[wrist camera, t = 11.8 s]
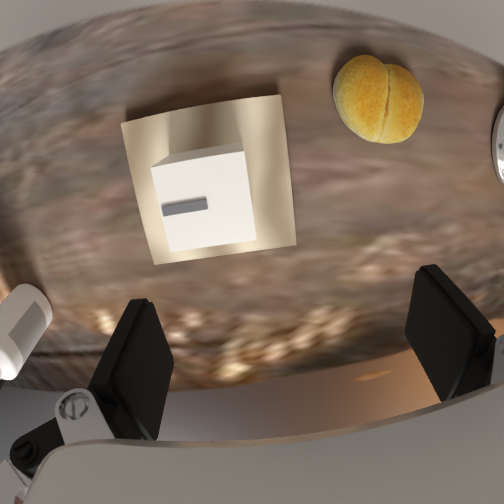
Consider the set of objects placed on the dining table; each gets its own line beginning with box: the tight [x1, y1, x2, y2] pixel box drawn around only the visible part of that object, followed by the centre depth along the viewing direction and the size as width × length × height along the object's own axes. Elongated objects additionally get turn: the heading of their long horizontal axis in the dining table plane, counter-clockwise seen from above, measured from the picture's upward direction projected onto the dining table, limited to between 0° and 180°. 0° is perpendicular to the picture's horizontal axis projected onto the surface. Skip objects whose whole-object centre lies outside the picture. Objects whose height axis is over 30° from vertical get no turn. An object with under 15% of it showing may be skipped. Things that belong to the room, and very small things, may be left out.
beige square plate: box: [121, 95, 296, 265], centre depth 25 cm, size 14×14×6 cm
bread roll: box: [333, 55, 424, 144], centre depth 24 cm, size 8×9×4 cm
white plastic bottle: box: [0, 284, 52, 380], centre depth 25 cm, size 7×7×18 cm
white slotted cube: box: [151, 142, 257, 252], centre depth 24 cm, size 6×6×6 cm
